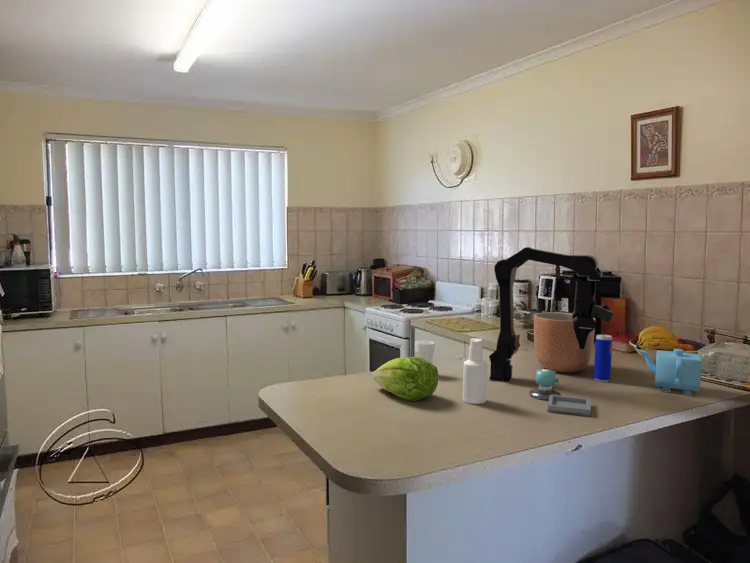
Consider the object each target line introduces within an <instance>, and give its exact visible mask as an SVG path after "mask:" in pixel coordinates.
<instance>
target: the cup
mask: <svg viewBox="0 0 750 563" xmlns="http://www.w3.org/2000/svg"><path fill="white" fill-rule="evenodd" d="M435 345H436V342H435V341H431V340H416V341H414V352H415V354H416V355H415V357H420V358H423V359H425V360H426V361H428V362H430V363H432V364H433V359H434V352H435Z"/></svg>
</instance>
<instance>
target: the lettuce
mask: <svg viewBox="0 0 750 563" xmlns="http://www.w3.org/2000/svg"><path fill="white" fill-rule="evenodd" d="M372 378H373V380H374V381H375V382H376V383H377V384H378V385H379V386H380V387H381V388H382V389H384V390H385V391H386V392H390V393H391V394H393V395H395V396H396V397H398V398H400V399H403V400H405V401H409V402H411V401H412V402H416V401H419V400H423V399H424V398H426V397H428V396H431V395H432V394H434V393H435V392H436V390H437V388H438V385H439V371H438V367H437V366H436V365H435V364H433V362H432V363H430V362H428V361H426V360H425V359H423V358H420V357H416V356H408V357H407V356H406V357H405V356H401V357H397V358H394V359H391V360H388V361H387V362H385V363H384V364H382V365H380V367H378V368H377V369H376V370H374V372H373V374H372Z"/></svg>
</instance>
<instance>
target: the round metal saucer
mask: <svg viewBox="0 0 750 563" xmlns="http://www.w3.org/2000/svg"><path fill="white" fill-rule="evenodd" d="M537 386H538V387H537V388H533V389H530V390H529V393H528V394H529V396H530V398H533V399H536V400H541V401H549V396H550V395H557V396H562V394H561V393H560V392H559V391H557V390H555V388H553V385H550V386H547V385H540V384H538V385H537Z"/></svg>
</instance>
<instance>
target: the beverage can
mask: <svg viewBox="0 0 750 563" xmlns="http://www.w3.org/2000/svg"><path fill="white" fill-rule="evenodd" d="M594 345H595V347H594V366H593V378H594V380H595V381H596V382H597V381H598V382H602V383H606V382H607V383H608V382H610V380H611V376H612V375H611V373H612V356H613V355H612V354H613V353H612V352H613V336H612V335H609V334H596V337H595V344H594Z"/></svg>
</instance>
